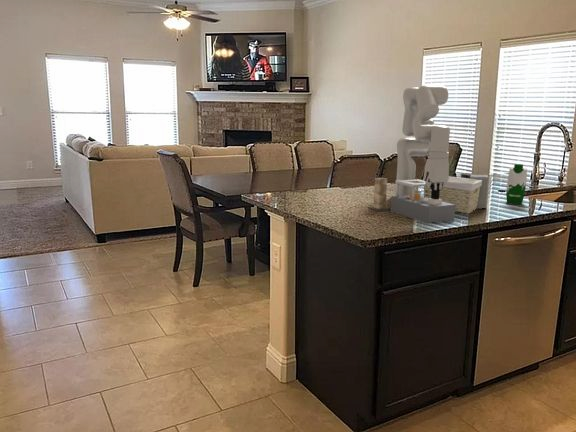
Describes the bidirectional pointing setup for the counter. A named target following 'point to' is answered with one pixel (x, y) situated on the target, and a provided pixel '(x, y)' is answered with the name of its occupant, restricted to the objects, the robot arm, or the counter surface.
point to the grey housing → (420, 205)
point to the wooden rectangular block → (380, 193)
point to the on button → (434, 201)
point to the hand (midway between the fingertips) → (435, 198)
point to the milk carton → (516, 184)
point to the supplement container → (467, 175)
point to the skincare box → (481, 190)
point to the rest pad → (378, 209)
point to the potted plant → (451, 166)
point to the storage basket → (459, 193)
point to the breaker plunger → (417, 196)
